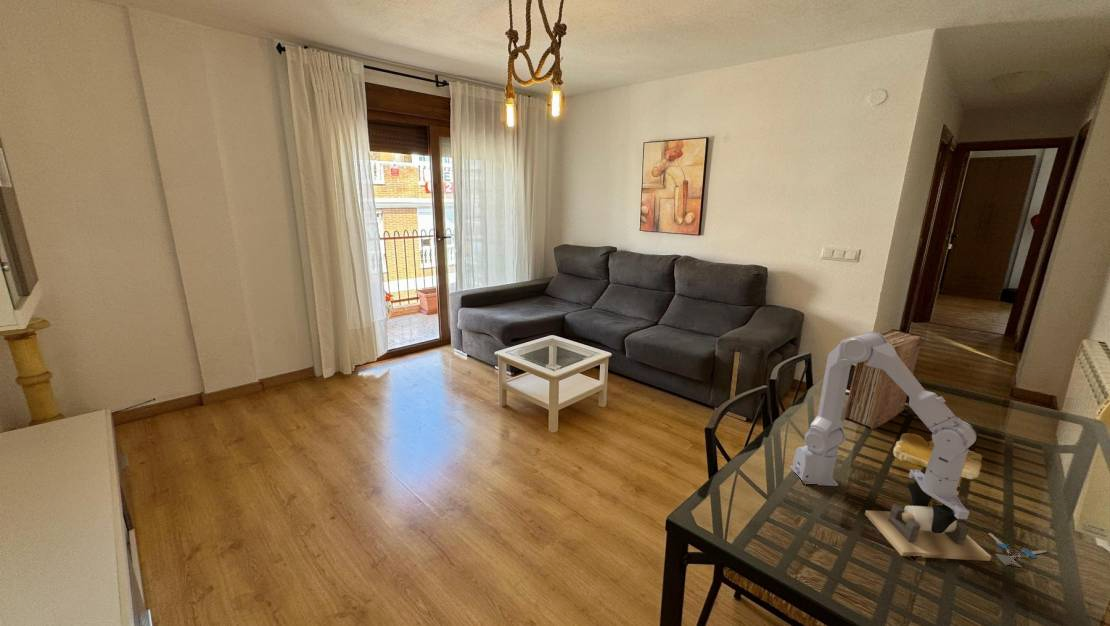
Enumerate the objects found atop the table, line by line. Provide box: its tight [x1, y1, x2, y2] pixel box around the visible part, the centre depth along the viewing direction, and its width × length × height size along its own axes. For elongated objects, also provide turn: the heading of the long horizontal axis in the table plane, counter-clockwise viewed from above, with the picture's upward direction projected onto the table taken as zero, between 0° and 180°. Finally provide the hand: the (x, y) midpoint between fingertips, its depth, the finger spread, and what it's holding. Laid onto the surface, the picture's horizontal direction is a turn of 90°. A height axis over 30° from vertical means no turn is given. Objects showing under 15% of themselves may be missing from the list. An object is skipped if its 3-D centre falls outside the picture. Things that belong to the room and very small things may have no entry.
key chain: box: [987, 532, 1048, 569], centre depth 101 cm, size 14×8×1 cm, turn 114°
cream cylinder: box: [902, 505, 958, 532], centre depth 102 cm, size 11×5×5 cm, turn 87°
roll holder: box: [864, 504, 992, 562], centre depth 103 cm, size 19×13×6 cm
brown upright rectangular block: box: [843, 328, 924, 431], centre depth 156 cm, size 25×9×30 cm, turn 123°
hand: (927, 522), depth 103 cm, fingers closed on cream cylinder, 5 cm apart
